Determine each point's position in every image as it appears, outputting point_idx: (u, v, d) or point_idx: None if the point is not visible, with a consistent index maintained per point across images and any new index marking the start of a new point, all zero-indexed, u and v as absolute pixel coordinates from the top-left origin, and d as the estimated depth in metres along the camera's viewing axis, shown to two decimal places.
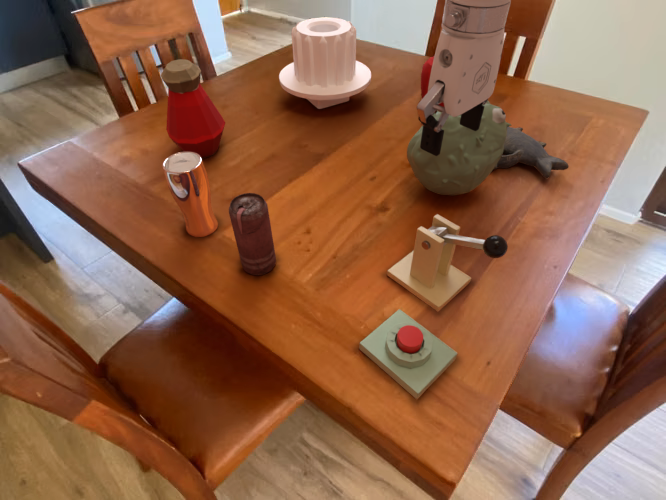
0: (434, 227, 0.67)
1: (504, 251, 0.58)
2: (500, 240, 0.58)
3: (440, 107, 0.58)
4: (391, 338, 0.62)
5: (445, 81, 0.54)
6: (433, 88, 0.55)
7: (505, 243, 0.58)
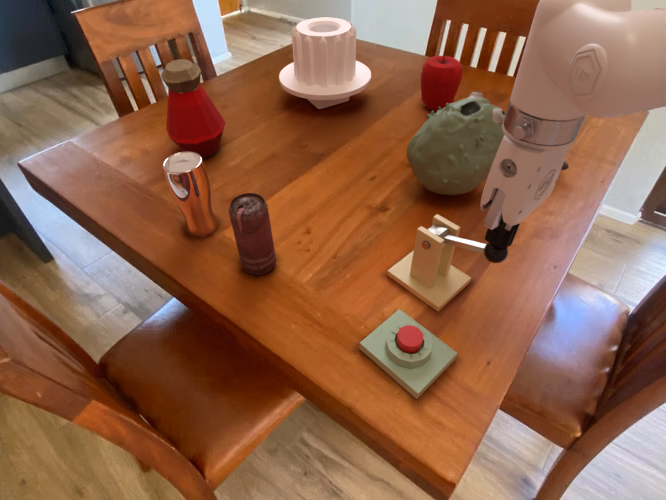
0: (434, 227, 0.67)
1: (505, 257, 0.59)
2: None
3: None
4: (391, 338, 0.62)
5: (504, 199, 0.49)
6: (493, 204, 0.50)
7: (506, 249, 0.59)
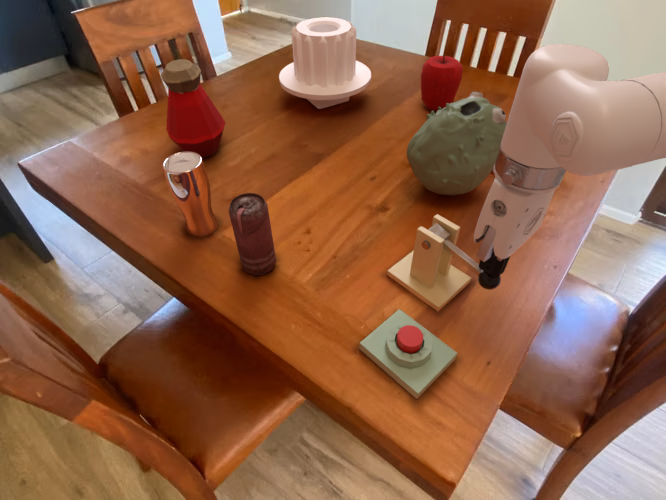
0: (438, 227, 0.67)
1: (495, 287, 0.63)
2: (498, 279, 0.62)
3: None
4: (391, 338, 0.62)
5: (495, 235, 0.52)
6: (486, 238, 0.54)
7: (500, 281, 0.62)
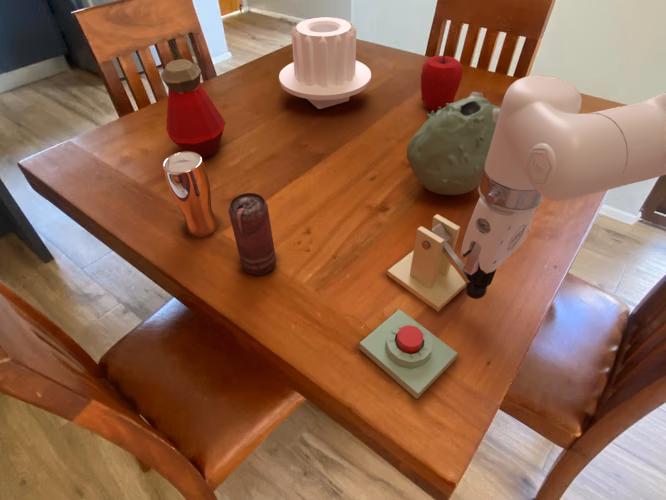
0: (441, 228, 0.66)
1: (479, 298, 0.67)
2: (485, 292, 0.65)
3: None
4: (391, 338, 0.62)
5: None
6: (472, 253, 0.57)
7: None
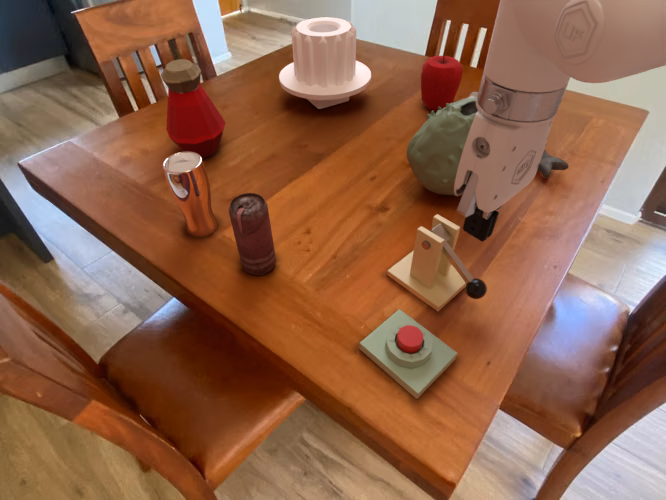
0: (441, 228, 0.66)
1: (479, 298, 0.67)
2: (485, 292, 0.65)
3: None
4: (391, 338, 0.62)
5: None
6: (467, 188, 0.46)
7: None
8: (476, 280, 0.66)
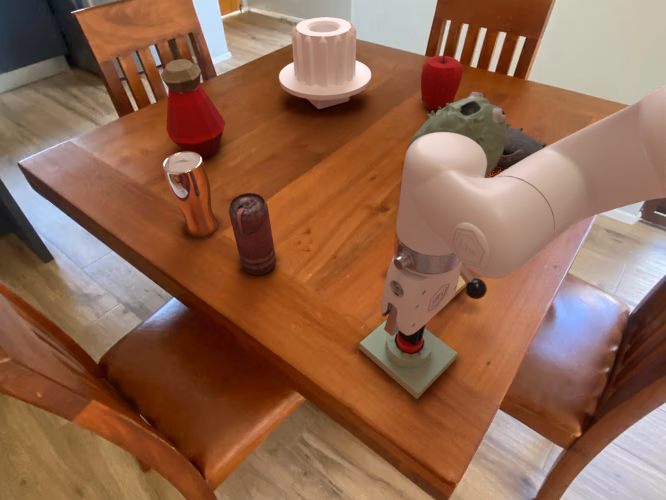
0: None
1: (479, 298, 0.67)
2: (485, 292, 0.65)
3: None
4: (391, 338, 0.62)
5: None
6: (391, 314, 0.52)
7: None
8: (476, 280, 0.66)
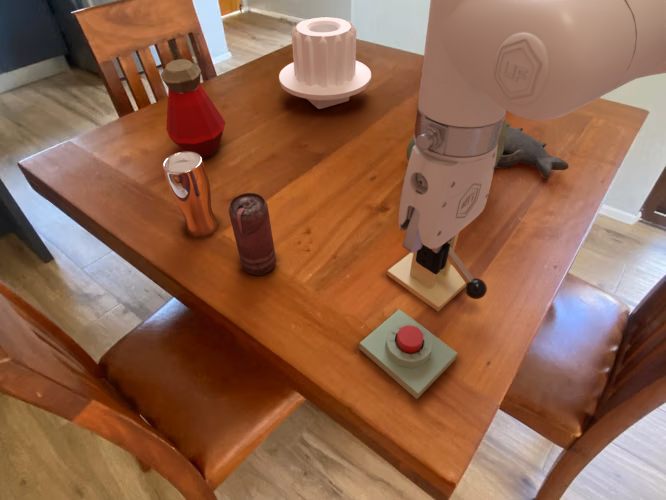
0: None
1: (479, 298, 0.67)
2: (485, 292, 0.65)
3: None
4: (391, 338, 0.62)
5: None
6: (411, 223, 0.43)
7: None
8: (476, 280, 0.66)
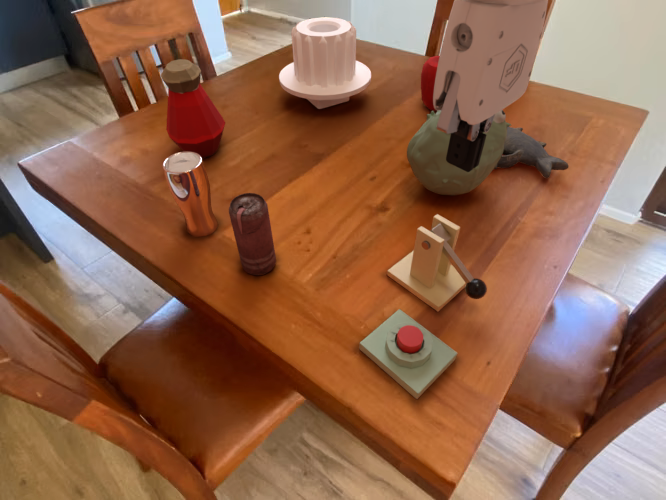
0: (441, 228, 0.66)
1: (479, 298, 0.67)
2: (485, 292, 0.65)
3: None
4: (391, 338, 0.62)
5: None
6: (448, 96, 0.39)
7: None
8: (476, 280, 0.66)
